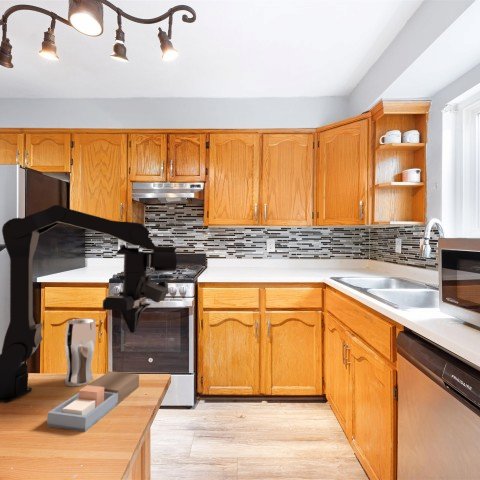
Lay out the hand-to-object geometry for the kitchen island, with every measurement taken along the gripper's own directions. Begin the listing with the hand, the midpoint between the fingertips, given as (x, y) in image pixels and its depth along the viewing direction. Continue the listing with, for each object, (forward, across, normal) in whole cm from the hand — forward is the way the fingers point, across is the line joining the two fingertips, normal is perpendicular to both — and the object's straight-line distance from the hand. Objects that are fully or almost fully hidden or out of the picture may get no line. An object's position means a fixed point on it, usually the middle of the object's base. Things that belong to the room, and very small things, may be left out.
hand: (133, 332), depth 80 cm
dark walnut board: (+12, -8, 0) cm, 14 cm away
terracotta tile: (+10, -15, 0) cm, 18 cm away
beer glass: (+12, -4, +12) cm, 18 cm away
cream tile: (+9, -20, 0) cm, 22 cm away
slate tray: (+12, -18, 0) cm, 21 cm away
